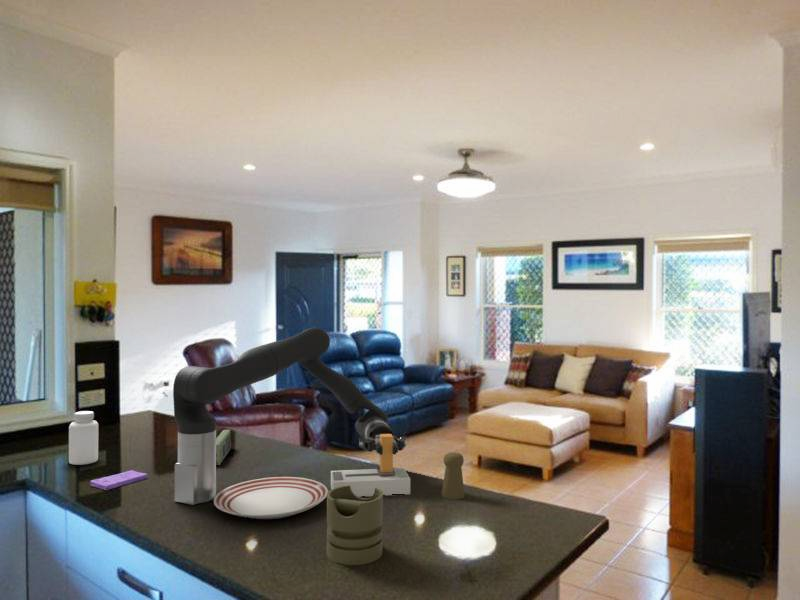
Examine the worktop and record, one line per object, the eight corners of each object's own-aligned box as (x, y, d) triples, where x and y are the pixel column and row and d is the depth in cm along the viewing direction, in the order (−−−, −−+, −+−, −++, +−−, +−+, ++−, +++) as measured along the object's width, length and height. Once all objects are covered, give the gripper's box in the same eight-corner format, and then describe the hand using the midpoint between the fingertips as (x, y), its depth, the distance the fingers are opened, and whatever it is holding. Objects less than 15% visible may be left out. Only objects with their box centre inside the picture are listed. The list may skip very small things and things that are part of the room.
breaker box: (333, 498, 157) (333, 482, 157) (330, 485, 167) (330, 470, 167) (410, 494, 160) (410, 478, 160) (403, 482, 170) (403, 467, 170)
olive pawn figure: (463, 500, 156) (464, 457, 156) (440, 498, 157) (440, 455, 157) (465, 492, 162) (466, 451, 162) (443, 490, 163) (443, 449, 163)
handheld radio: (232, 449, 203) (217, 471, 178) (222, 449, 203) (205, 472, 178) (231, 429, 203) (216, 449, 178) (221, 429, 203) (205, 449, 178)
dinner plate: (212, 533, 134) (212, 517, 134) (214, 492, 161) (214, 479, 161) (336, 521, 142) (336, 507, 142) (319, 484, 168) (319, 472, 168)
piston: (339, 482, 132) (389, 487, 129) (338, 538, 132) (389, 544, 129) (318, 500, 121) (372, 506, 118) (317, 560, 121) (372, 568, 118)
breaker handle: (379, 475, 162) (379, 437, 161) (376, 470, 166) (377, 433, 166) (395, 474, 162) (396, 437, 162) (392, 469, 167) (393, 433, 166)
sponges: (90, 487, 164) (90, 480, 164) (132, 475, 175) (132, 469, 175) (105, 492, 161) (105, 485, 161) (147, 480, 171) (147, 473, 171)
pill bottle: (103, 458, 190) (103, 410, 190) (88, 466, 182) (88, 415, 182) (79, 457, 191) (79, 409, 190) (62, 465, 183) (62, 414, 182)
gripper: (354, 422, 177) (361, 437, 160) (402, 421, 179) (414, 435, 162) (354, 448, 177) (361, 466, 160) (402, 447, 179) (414, 464, 162)
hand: (388, 450), depth 161 cm, fingers closed on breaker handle, 3 cm apart
